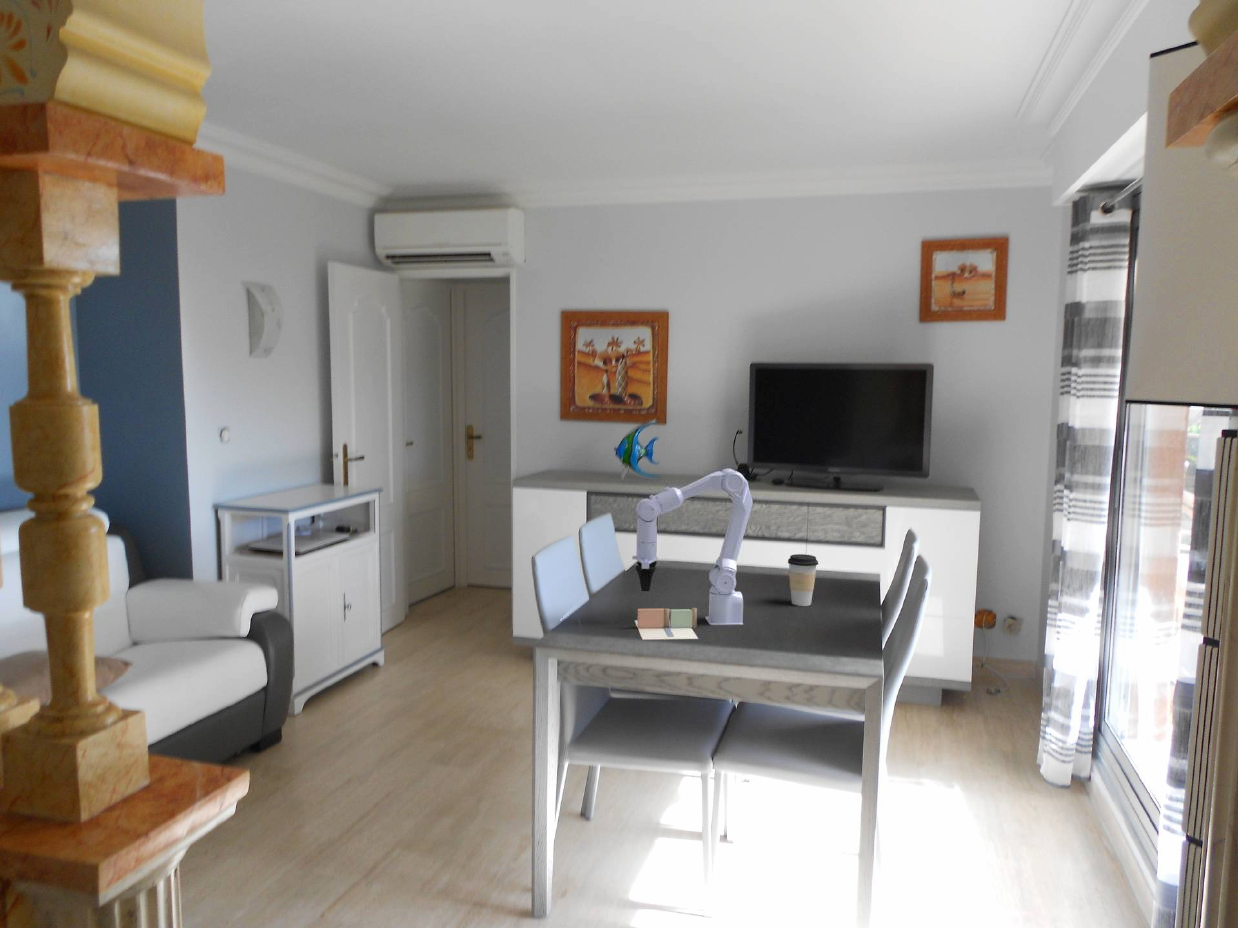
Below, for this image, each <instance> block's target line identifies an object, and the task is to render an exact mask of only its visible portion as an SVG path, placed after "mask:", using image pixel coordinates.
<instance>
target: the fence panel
mask: <svg viewBox="0 0 1238 928" xmlns="http://www.w3.org/2000/svg"><path fill="white" fill-rule="evenodd" d="M637 620H638V628H643V627H669V622H670V608H668V607H665V608H637ZM638 628H637V629H638Z"/></svg>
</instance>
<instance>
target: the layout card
mask: <svg viewBox="0 0 1238 928" xmlns="http://www.w3.org/2000/svg"><path fill="white" fill-rule="evenodd" d="M634 622H635V625H636V627H637V629H638V632H639V635H640V637H641V639H642V640H644V641H645V640H653V641H654V640H699V637H698V636H697V634H696V633H695V631H694V630H693V628H691V627H682V628H671V627H670V622H669V627H643V628H638V619H636V620H634Z"/></svg>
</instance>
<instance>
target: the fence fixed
mask: <svg viewBox="0 0 1238 928" xmlns="http://www.w3.org/2000/svg"><path fill="white" fill-rule="evenodd" d="M669 609H670V608H669ZM697 619H698V608H697V607H691V608H690V609H689V608H687V609H686V608H684V609H681V608H679V609H677V608H676V609H675V608H674V609H670V627H671V628H682V627H691V628H692V629H696V628H697V623H698V620H697Z"/></svg>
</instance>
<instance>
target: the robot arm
mask: <svg viewBox="0 0 1238 928" xmlns="http://www.w3.org/2000/svg"><path fill="white" fill-rule="evenodd" d="M708 490H711V491H712V490H713V491H714V490H715V491H720V492H721V491H722V490H723V491H724V492H726V494H727V495H728V497H729V498H730V500H731V501H732V503H733V507H732V511H731V513H730V517H729V521H728V525H727V528H726V531H725V536H724V539H723V542H722V546H721V551H720V553H719V556H718V557H717V559H716V560H715V562H714V565H713V567H712V568H711V570H710V571H709V572H708V573H709V574H708V579H709V582H710V583H711V587H710V588H709V598H708V616H705V617H704V618H705V620H706V621H707V622H708V624H709V625H710V626H740V625H741V626H742V625H744V623H743V619H744V618H743V617H744V598H743V594H742V592H741V591H735V589H736V586H737V579H736V574H737V570H738V569H737V561H738V556H739V553H740V550H741V546H742V543H743V539H744V536H745V532H746V528H747V525H748V520H749V517H750V514H751V510H752V506H753V498H752V495H751V491H750V487H749V481H748V480H747V479H746V478H745V477H744V475H743V474H742V473H740V472H739V471H736V470H734V469H732V468H724V469H721V471H720V470H718V471H714V472H712V473H710V474H708V475H705V476H704V477H702V478H700V479H697V480H695V481H693V482H691V483H689V484H687V485H686V486H683V487H682V488H677V487H671V488H670V487H669V486H667V487H665V488H664V491H662V492H660V493H658V494H655V495H653V494H650V495H649V498H643V499H641V500H640V501H639V502H638V503H637V504H636V507H635V512H636V514H637V520H636V521H637V522H636V523H637V525H636V555H632V560H635V561H637V562H636V563H637V565H635V570H636V572H637V575H638V578H639V584H640V589H641V591H642V592H650V589H651V584H652V579H653V575H654V573H655V571H656V569H657V567H656V565H657V561H658V556H657V551H658V549H657V548H658V547H657V546H658V525H657V519H658V517H659V515H663V514H665V513H666V514H667V513H668V512H670V511H673V510H675V509H676V508H679V507H681V506H683V503H684V501H685V500H686V499H689V498H691V497H693V496H697V495H699V494H701V493H703V492H707V491H708Z"/></svg>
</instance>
